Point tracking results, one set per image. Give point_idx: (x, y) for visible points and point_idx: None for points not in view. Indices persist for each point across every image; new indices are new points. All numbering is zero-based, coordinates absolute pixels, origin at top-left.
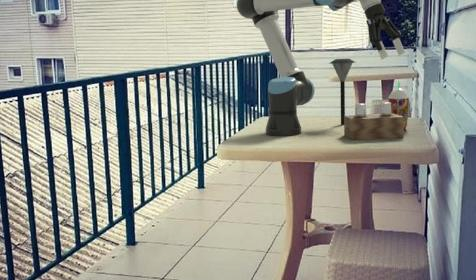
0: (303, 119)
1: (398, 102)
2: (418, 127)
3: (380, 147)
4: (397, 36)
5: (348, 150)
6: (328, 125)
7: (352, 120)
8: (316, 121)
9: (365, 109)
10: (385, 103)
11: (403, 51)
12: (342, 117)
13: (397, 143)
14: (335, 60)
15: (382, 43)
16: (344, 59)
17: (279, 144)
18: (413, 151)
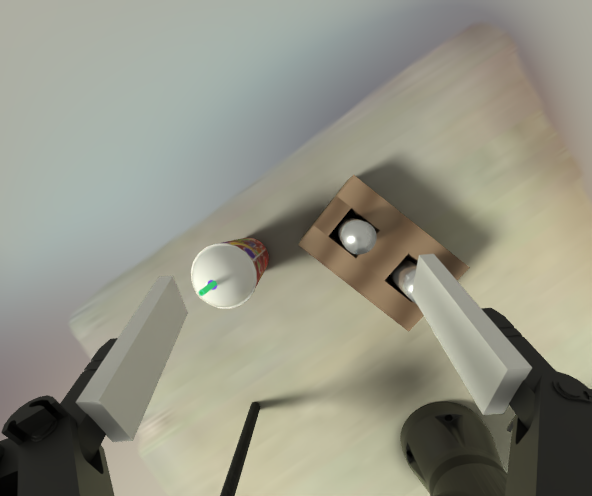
0: None
1: (253, 257)
2: (194, 237)
3: (496, 145)
4: (71, 430)
5: (568, 181)
6: (285, 425)
7: (466, 265)
8: (248, 484)
9: (414, 269)
10: (374, 229)
11: (168, 285)
12: (255, 418)
13: (427, 145)
14: None
15: (491, 340)
16: None
17: (579, 352)
18: (504, 54)
